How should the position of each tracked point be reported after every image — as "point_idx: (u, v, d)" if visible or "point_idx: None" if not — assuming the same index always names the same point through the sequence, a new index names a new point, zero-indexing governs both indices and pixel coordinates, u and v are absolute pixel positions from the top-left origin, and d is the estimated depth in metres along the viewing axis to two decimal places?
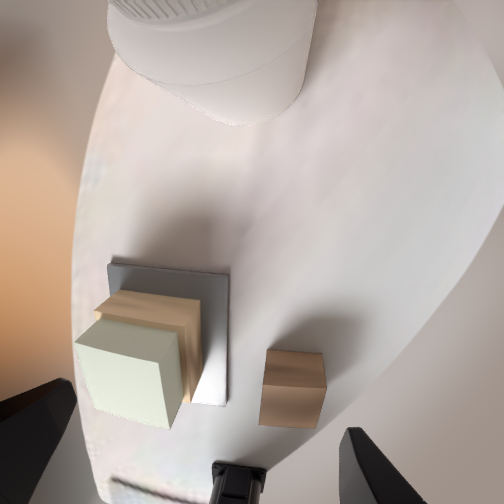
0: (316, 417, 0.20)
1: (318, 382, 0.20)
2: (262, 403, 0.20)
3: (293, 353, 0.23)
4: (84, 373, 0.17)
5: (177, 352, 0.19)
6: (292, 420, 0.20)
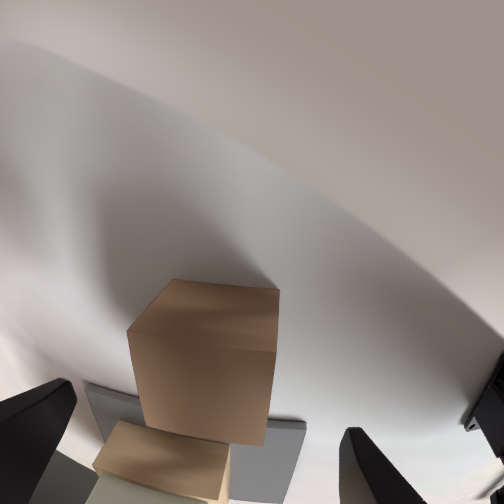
0: (228, 352, 0.08)
1: None
2: (194, 435, 0.09)
3: None
4: None
5: (122, 485, 0.11)
6: (243, 399, 0.09)
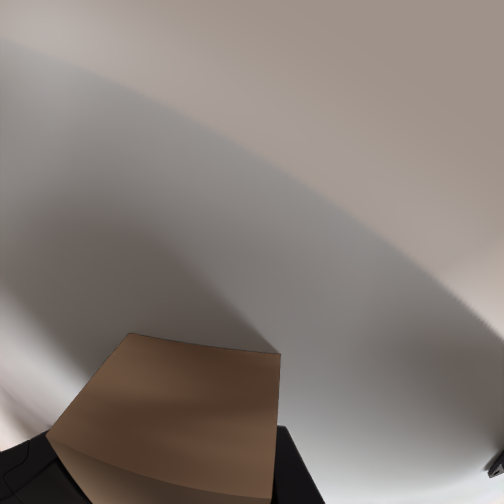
0: (192, 492, 0.04)
1: None
2: None
3: None
4: None
5: None
6: None
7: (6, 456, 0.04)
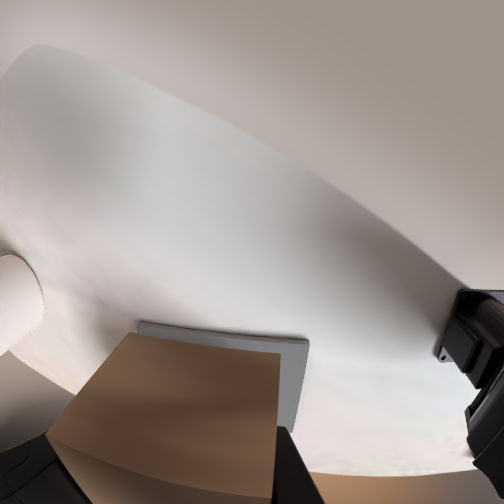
0: (192, 491, 0.04)
1: None
2: None
3: None
4: None
5: None
6: None
7: (6, 456, 0.04)
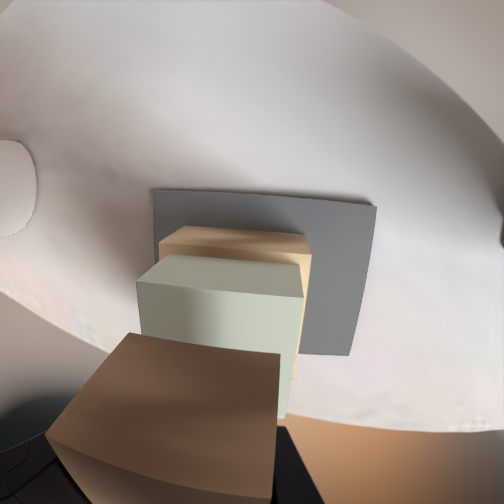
0: (192, 491, 0.04)
1: None
2: None
3: None
4: None
5: (195, 258, 0.13)
6: None
7: (6, 456, 0.04)
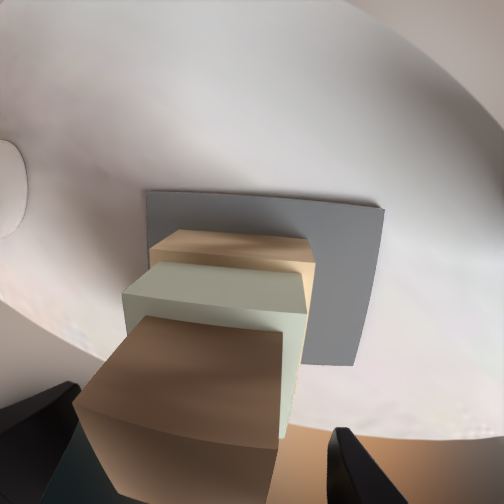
0: (208, 446, 0.05)
1: None
2: None
3: None
4: None
5: (188, 266, 0.12)
6: (232, 488, 0.05)
7: None
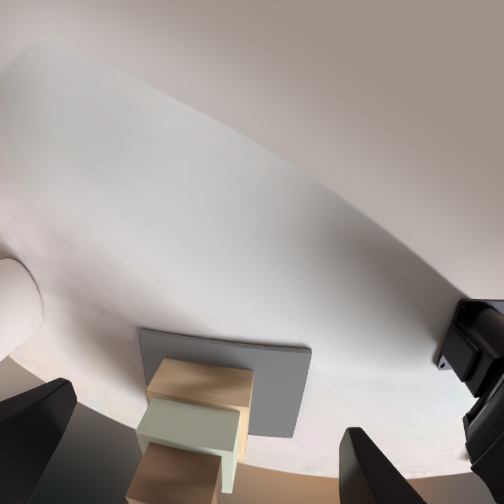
0: None
1: None
2: None
3: None
4: None
5: (171, 404, 0.18)
6: None
7: None
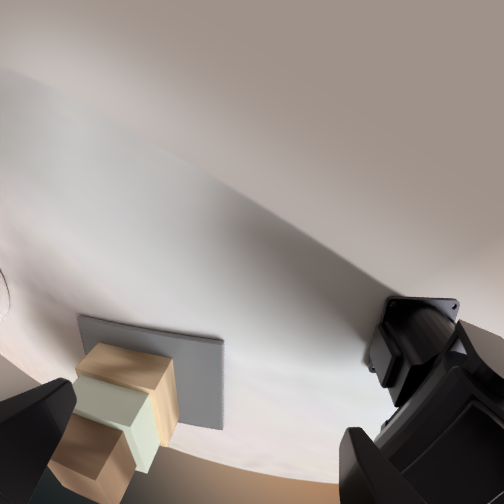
0: (77, 473, 0.11)
1: None
2: (84, 495, 0.13)
3: None
4: None
5: (93, 381, 0.19)
6: (94, 490, 0.12)
7: None
